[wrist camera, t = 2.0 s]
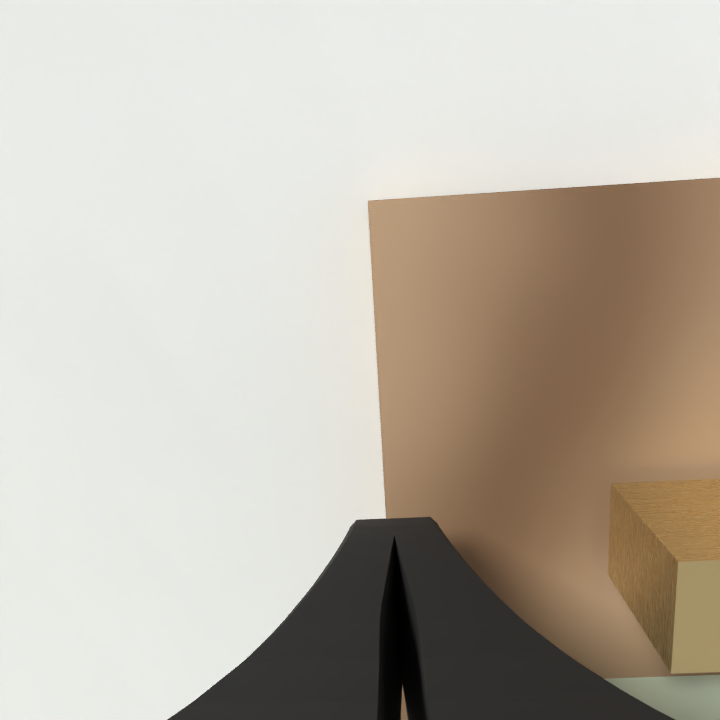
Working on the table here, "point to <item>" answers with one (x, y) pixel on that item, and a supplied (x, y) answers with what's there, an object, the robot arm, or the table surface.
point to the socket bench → (548, 384)
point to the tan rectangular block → (670, 566)
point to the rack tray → (676, 695)
